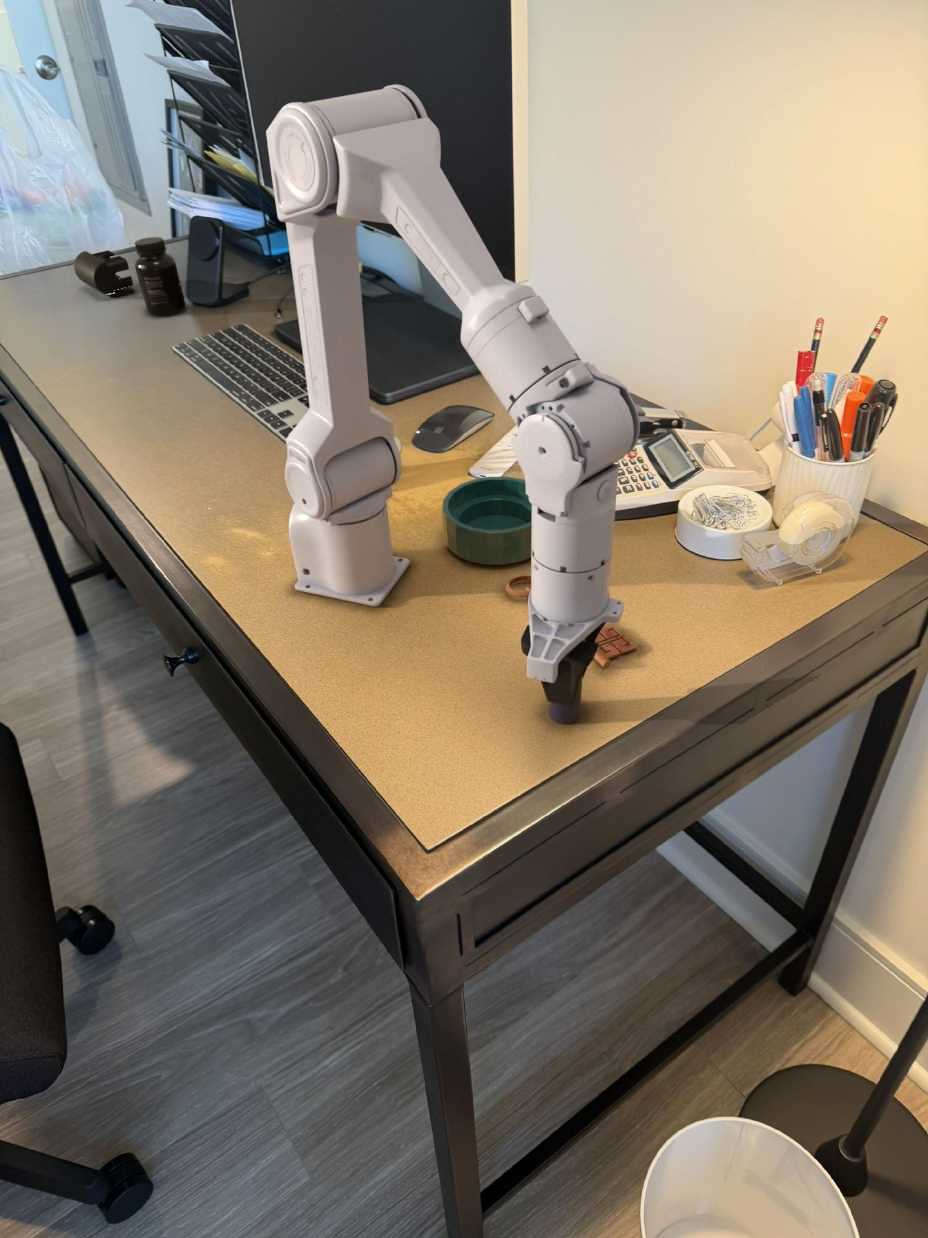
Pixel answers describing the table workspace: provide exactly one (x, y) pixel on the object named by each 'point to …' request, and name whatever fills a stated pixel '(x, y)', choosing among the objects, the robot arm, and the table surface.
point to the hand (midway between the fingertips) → (565, 688)
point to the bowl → (489, 520)
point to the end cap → (103, 273)
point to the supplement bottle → (158, 278)
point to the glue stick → (567, 709)
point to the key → (606, 633)
